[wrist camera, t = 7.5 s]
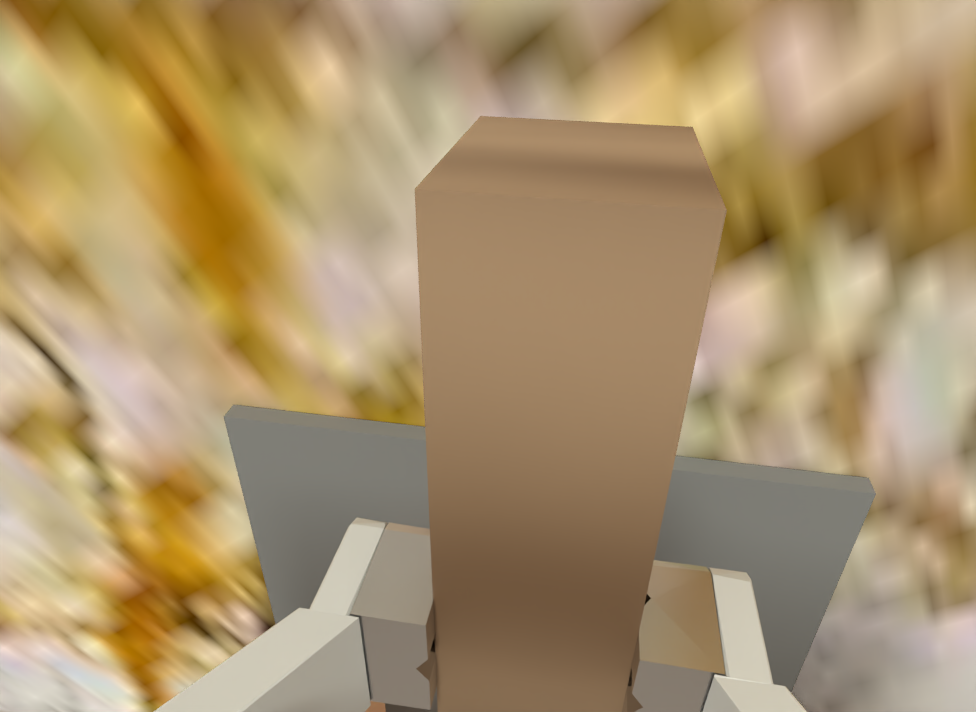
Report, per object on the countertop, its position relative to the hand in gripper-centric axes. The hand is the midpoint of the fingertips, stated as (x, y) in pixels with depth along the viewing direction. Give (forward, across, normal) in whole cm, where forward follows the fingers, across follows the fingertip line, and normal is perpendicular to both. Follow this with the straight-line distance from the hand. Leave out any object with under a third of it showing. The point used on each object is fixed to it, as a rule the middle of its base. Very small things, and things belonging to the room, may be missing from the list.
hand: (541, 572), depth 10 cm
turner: (+2, 0, +2) cm, 2 cm away
